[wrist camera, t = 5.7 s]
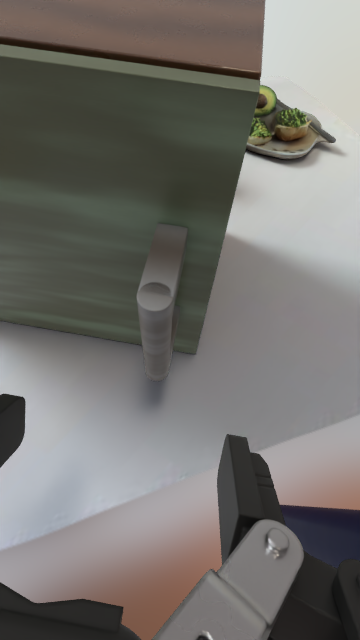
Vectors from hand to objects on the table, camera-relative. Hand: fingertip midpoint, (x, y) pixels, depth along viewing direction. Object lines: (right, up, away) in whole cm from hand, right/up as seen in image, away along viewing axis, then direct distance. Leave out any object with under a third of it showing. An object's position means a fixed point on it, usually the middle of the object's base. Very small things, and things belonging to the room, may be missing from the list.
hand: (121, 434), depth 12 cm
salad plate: (+18, +39, +43) cm, 61 cm away
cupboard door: (-9, +1, +19) cm, 21 cm away
